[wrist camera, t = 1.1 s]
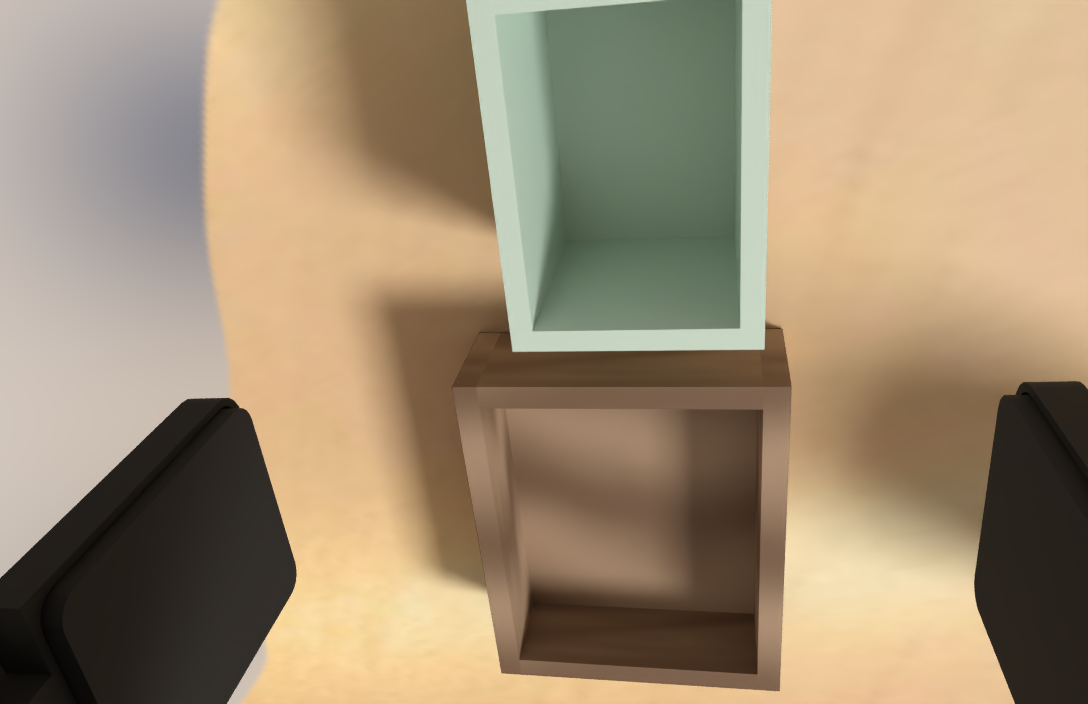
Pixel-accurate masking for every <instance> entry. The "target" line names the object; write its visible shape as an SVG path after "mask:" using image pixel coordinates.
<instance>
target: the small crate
mask: <svg viewBox="0 0 1088 704" xmlns="http://www.w3.org/2000/svg"><path fill="white" fill-rule="evenodd" d="M466 4H467V12H468V20H469V27H470V35H471V42H472V50H473V57H474V65H475V72H476V80H477V87H478V95H479V102H480V110H481V117H482V125H483V133H484V140H485V148H486V155H487V163H488V170H489V178H490V185H491V193H492V200H493V208H494V215H495V223H496V230H497V238H498V246H499V253H500V261H501V268H502V276H503V283H504V291H505V298H506V306H507V313H508V321H509V328H510V336H511V343H512V351H513V352H549V351H664V350H765V306H766V260H767V214H768V169H769V123H770V77H771V32H772V0H466Z"/></svg>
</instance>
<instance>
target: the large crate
mask: <svg viewBox="0 0 1088 704" xmlns="http://www.w3.org/2000/svg"><path fill="white" fill-rule="evenodd" d="M452 390H453V396H454V402H455V408H456V413H457V419H458V425H459V431H460V436H461V442H462V448H463V454H464V460H465V465H466V471H467V477H468V483H469V488H470V494H471V500H472V506H473V511H474V517H475V523H476V529H477V534H478V540H479V546H480V552H481V557H482V563H483V569H484V575H485V580H486V586H487V592H488V598H489V603H490V609H491V615H492V621H493V626H494V632H495V638H496V644H497V649H498V655H499V661H500V667H501V672H502V673H506V674H521V675H537V676H552V677H568V678H583V679H598V680H614V681H629V682H645V683H660V684H676V685H691V686H706V687H722V688H737V689H753V690H768V691H780V667H781V642H782V616H783V591H784V565H785V540H786V514H787V489H788V464H789V438H790V413H791V380H790V374H789V368H788V361H787V355H786V349H785V342H784V336H783V329H765V350H664V351H549V352H513V351H512V343H511V336H510V332H497V333H479V334H478V336H477V338H476V340H475V342H474V344H473V346H472V348H471V350H470V352H469V354H468V356H467V358H466V360H465V362H464V364H463V366H462V368H461V370H460V372H459V374H458V376H457V378H456V380H455V382H454V384H453V386H452Z"/></svg>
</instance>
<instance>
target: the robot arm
mask: <svg viewBox="0 0 1088 704" xmlns="http://www.w3.org/2000/svg"><path fill="white" fill-rule="evenodd" d="M295 583H296V565H295V561H294V557H293V554H292V551H291V547H290V544H289V541H288V538H287V534H286V531H285V528H284V524H283V521H282V518H281V514H280V511H279V508H278V504H277V501H276V498H275V495H274V491H273V488H272V485H271V481H270V478H269V475H268V471H267V468H266V465H265V461H264V458H263V455H262V452H261V448H260V445H259V442H258V438H257V435H256V432H255V428H254V425H253V422H252V419H251V416H250V414H249V413H248V412H247V410H245V409H243V408H239V406H238V405H237V404H236V402H235V401H234V400H232V399H230V398H209V399H208V398H206V399H187V400H186V401H184V402H182V403H181V404H180V405H179V406H178V407H177V408H176V409H175V410H174V411H173V412H172V413H171V414H170V415H169V416H168V417H167V418H166V419H165V420H164V421H163V422H162V423H161V424H160V425H158V426H157V427H156V428H155V429H154V430H153V432H151V433H150V434H149V435H148V436H147V437H146V438H145V439H144V440H143V441H142V442H141V443H140V444H139V445H138V446H137V447H136V448H135V449H134V450H133V451H132V452H131V453H130V454H129V455H128V456H127V457H125V458H124V459H123V460H122V461H121V462H120V463H119V464H118V465H117V466H116V467H115V468H114V469H113V470H112V471H111V472H110V473H109V474H108V475H107V476H106V477H105V478H104V479H103V480H102V481H101V482H99V483H98V485H96V487H94V488H93V489H92V490H91V491H90V492H89V493H88V494H87V495H86V496H85V497H84V498H83V499H82V500H81V501H80V502H79V503H78V504H77V505H76V506H75V507H74V508H73V509H72V510H71V511H70V512H69V513H67V514H66V515H65V516H64V517H63V518H62V519H61V520H60V521H59V523H57V524H56V525H55V526H54V527H53V528H52V529H51V530H50V531H49V532H48V533H47V534H46V535H45V536H44V537H43V538H42V539H41V540H39V541H38V542H37V543H36V544H35V545H34V546H33V548H31V549H30V550H29V551H28V552H27V553H26V554H25V555H24V556H23V557H22V558H21V559H20V560H19V561H18V562H17V563H16V564H15V565H14V566H13V567H12V568H11V569H9V570H8V571H7V572H6V573H5V574H4V575H3V576H2V577H1V578H0V704H227V702H228V701H229V699H230V697H231V695H232V694H233V692H234V690H235V689H236V687H237V685H238V684H239V682H240V680H241V679H242V677H243V675H244V673H245V672H246V670H247V668H248V667H249V665H250V663H251V661H252V660H253V658H254V656H255V655H256V653H257V651H258V650H259V648H260V646H261V645H262V643H263V641H264V640H265V638H266V636H267V635H268V633H269V631H270V629H271V628H272V626H273V624H274V623H275V621H276V619H277V618H278V616H279V614H280V613H281V611H282V609H283V607H284V606H285V604H286V602H287V601H288V599H289V597H290V596H291V594H292V592H293V589H294V586H295ZM974 588H975V598H976V603H977V607H978V611H979V613H980V616H981V618H982V621H983V624H984V626H985V629H986V631H987V634H988V636H989V639H990V641H991V644H992V646H993V649H994V651H995V654H996V656H997V659H998V661H999V664H1000V667H1001V669H1002V672H1003V674H1004V677H1005V679H1006V682H1007V684H1008V687H1009V689H1010V692H1011V694H1012V697H1013V699H1014V702H1015V704H1088V389H1087V388H1086V387H1085V386H1084V385H1083V384H1082V383H1081V382H1077V381H1068V382H1023V383H1022V384H1021V385H1020V386H1019V388H1018V390H1017V392H1016V395H1004V396H1003V397H1002V398H1001V400H1000V402H999V407H998V413H997V420H996V427H995V435H994V442H993V449H992V456H991V463H990V471H989V478H988V485H987V492H986V499H985V506H984V514H983V521H982V528H981V535H980V542H979V550H978V557H977V564H976V571H975V580H974Z"/></svg>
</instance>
